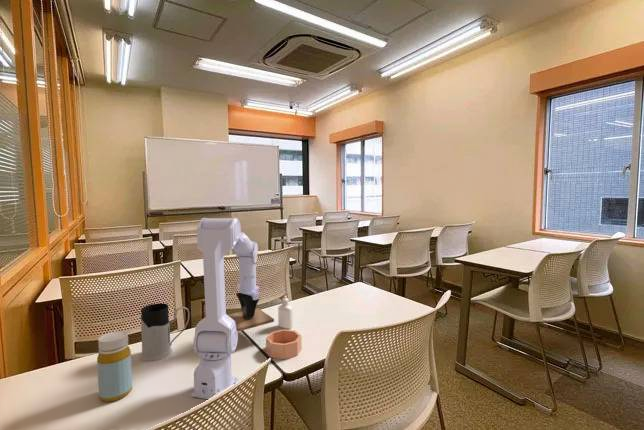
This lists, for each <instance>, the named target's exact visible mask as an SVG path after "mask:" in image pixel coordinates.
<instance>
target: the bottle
mask: <svg viewBox="0 0 644 430" xmlns="http://www.w3.org/2000/svg"><path fill="white" fill-rule="evenodd" d="M97 343H98V355H97V358H96V359H97V361H96V362H97V364H96V367H97V382H98V384H97V385H98V397H99V400H101V401H103V402H106V403H111V402H116V401H119V400H121V399H123V398H125V397H126V396H127V395H128V394H129V393H130V392H131V391H132V390H133V373H132V353H131V351H132V350H131V348H130V347H129V333H128V332H127V331H125V330H115V331H111V332H108V333H104V334H102V335H101V336H100V337H98V340H97Z"/></svg>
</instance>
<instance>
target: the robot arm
mask: <svg viewBox="0 0 644 430" xmlns="http://www.w3.org/2000/svg"><path fill="white" fill-rule="evenodd" d="M196 239H197V241H196V242H197V250H198V251H200V252H201V253H202V262H203V263H202V264H203V267H202V268H203V283H204V284H203V286H204V304H205V306H204V307H205V317H204V318H202V319H200V321H199V322H198V323H197V324H196V326H195V328H194V336H193V343H192V344H193V348H194V351H195V352H196V353H198V357H199V358H201V359H200V362H199V363H198V365H197V366H196V368H195V369H194V372H193V391H192V393H191V397H193V398H199V399H204V400H209V398H211V397H213V396H214V395H216V394H218V393H220V392H221V391H222V390H224V389H226V388H227V387H229V386H231V385H232V384H234V383H235V382H236V383H237V382H238V381H239V377H235V376H232V374H233V373H232V372H233V371H232V354H233V353H234V352H235V351H236V348H237V346H238V341H239V335H238V332H237V330H236V324H235V321H234V320H233V319H232V318H230V317H229V316H228V315H229V314H227V310H226V308H227V307H226V306H227V305H226V283H225V281H226V280H225V279H226V278H225V258H224V257H225V254H226V253H228V252H231V251H233V250H234V252H235V257H236V258H237V259H238V283H237V287H236V289H237V290H238V292H236V293H235V294H236V295H235V296H236V297H237V299H238V301H239V304H240V308H241V312H243V307H244V306H245V307H246V313H247V317H248V318H249V317H253V316H254V313H255V309H256V308H257V305H258V303H259V301H260V299H261V296H260V293H259V292H258V290H260V286H259V285H258V286H257V262H258V255H259V254H258V253H259V247H258V243H257V242H256V241H255V240H254V241H252V240H251V239H250V238H249V236H248V235H246V234H245V232H244V231H242V226H241V221H240V220H239V218H237V217H233V218H232V217H230V218H229V217H227V218H224V217H223V218H216V217H215V218H208V217H202V218H201V219H200V221H199V223H198V225H197V226H196ZM236 383H235V384H236ZM235 384H234V385H235Z"/></svg>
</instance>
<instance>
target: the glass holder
mask: <svg viewBox="0 0 644 430" xmlns="http://www.w3.org/2000/svg"><path fill="white" fill-rule="evenodd" d="M180 309H184V310H186V311H187V320H186V323H185V325H184V327H183V328H182V330H181V331H179V333H178V334H177V335H176V336H174V337H173V339H172V340H171V330H170V329H171V327H170V326H171V324H170V323H173V322H176V318H177V317H176V315H177V312H178V311H180ZM140 314H141V315H140V331H141V332H140V335H141V356H140V359H141V361H144V362H156V361H161V360H163V359H166V358H167V357H169V356H170V355H171V354H172V353H173V349H172V344H173V342H174V341H175V340H176V339H177V338H178V337H179V336H181V334H182V333H183V332H184V331H185V330H186V328H187V327H188V323H189V321H190V311H189V308H188V307H185V306H180V307H178V308H176V310H175V312H174V314H173V319H172V320H171V321H170V319H169V318H170V316H169V305H168V303H163V302H162V303H158V302H157V303H152V304H149V305H145V306H143V307H141V309H140Z"/></svg>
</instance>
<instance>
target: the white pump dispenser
mask: <svg viewBox="0 0 644 430" xmlns="http://www.w3.org/2000/svg"><path fill="white" fill-rule="evenodd" d="M277 313H278V314H277V317H278V318H277V319H278V321H277V325H278V327H280V328H281V329H285V330H291V329H292V328H293V323H294V322H293V319H294V317H293V315H294V314H293V313H294V312H293V307H292V306H291V305H289V298H288V297H287V295H284V296H283V298H282V299H281V304H280V305H279V306H278V308H277Z"/></svg>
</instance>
